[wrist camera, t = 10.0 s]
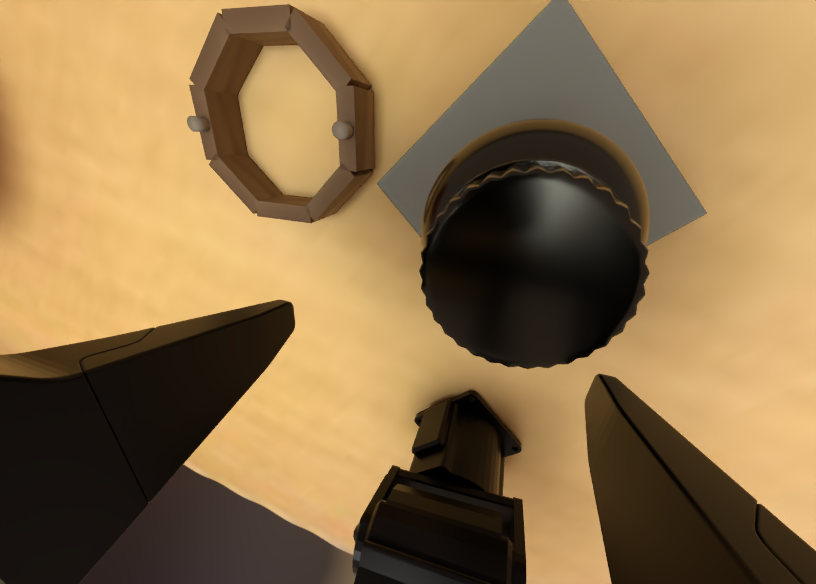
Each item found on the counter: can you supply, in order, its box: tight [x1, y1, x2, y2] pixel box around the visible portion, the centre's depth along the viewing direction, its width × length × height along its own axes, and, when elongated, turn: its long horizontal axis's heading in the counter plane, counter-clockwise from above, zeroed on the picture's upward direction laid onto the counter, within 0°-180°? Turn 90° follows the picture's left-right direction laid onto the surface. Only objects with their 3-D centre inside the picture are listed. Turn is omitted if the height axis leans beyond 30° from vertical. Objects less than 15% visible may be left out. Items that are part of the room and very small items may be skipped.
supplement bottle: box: [419, 119, 650, 369], centre depth 12 cm, size 7×7×12 cm
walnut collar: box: [187, 4, 374, 223], centre depth 19 cm, size 10×10×3 cm
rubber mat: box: [377, 0, 707, 246], centre depth 17 cm, size 12×12×1 cm
